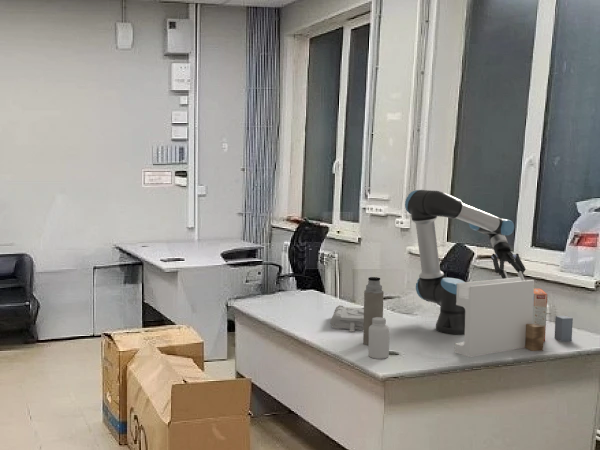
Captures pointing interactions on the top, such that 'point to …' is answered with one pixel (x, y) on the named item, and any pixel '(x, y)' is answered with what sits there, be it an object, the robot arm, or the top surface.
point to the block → (495, 315)
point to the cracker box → (540, 308)
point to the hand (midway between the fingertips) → (516, 283)
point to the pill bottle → (378, 339)
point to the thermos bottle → (372, 305)
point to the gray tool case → (348, 318)
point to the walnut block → (534, 337)
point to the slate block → (563, 328)
